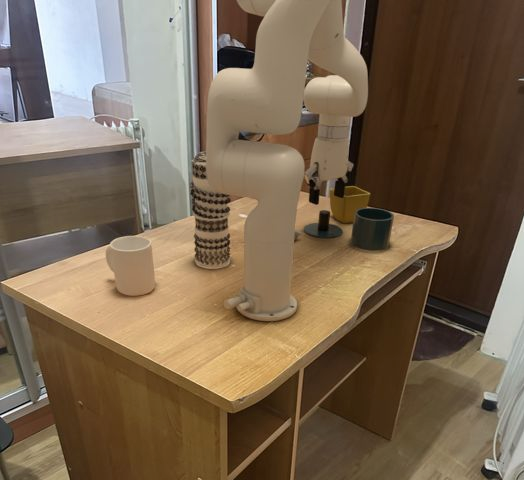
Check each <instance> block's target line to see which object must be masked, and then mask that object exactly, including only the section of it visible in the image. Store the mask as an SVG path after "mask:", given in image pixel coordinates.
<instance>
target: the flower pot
mask: <svg viewBox="0 0 524 480" xmlns="http://www.w3.org/2000/svg"><path fill="white" fill-rule="evenodd" d="M334 189H335V187H333V188H332V187H331V188H329V206H330V212H331V213H332V216H333V218H334V219H335V220H337V221H339V222H341V223H342V224H351V223H353V220H354V213H355V211H356V210H357V209H361V208H368V204H369V201H370V197H371V192H369V191H366V190H364V189H361V188H359V187H358V186H355V185H350V186H345V192H344V198H340V197H337V196H334Z"/></svg>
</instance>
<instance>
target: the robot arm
mask: <svg viewBox="0 0 524 480" xmlns="http://www.w3.org/2000/svg"><path fill="white" fill-rule="evenodd" d="M236 2H237V4H238V6H239V7H240V8H241V9H242V10H243V11H244V12H246V13H248V14H252V15H255V16H259V17H263V18H262V20H261V22H260V24H259V26H258V29H257V31H256V35H255V36H256V37H255V52H254V59H253V62H254V63H253V66H252V67H251V68H244V67H243V68H242V67H241V68H240V67H227V68H224V69H220V71H218V72H217V73H216V74H215V76H214V77H213V79H212V80H211V84H210V87H209V90H208V96H207V105H206V107H207V108H206V137H205V139H206V141H205V142H206V144H205V151H206V174H207V180H208V183H209V185H210V187H211V188H212V189H213V190H214V191H216V192H218V193H221V194H227V195H230V196H233V197H241V198H246V199H247V198H248V199H252V200H255V201H257V204H256V206H255V207H254V208H253V209H252V210H251V211H250V212H249V214H248V215H247V216H246V218H245V220H244V226H243V227H244V228H243V240H244V241H243V286H241V287H239V291H238V294H236V295H235V296H234V297H231V298H227V299H224V300H223V305H224V308H225V309H226V310H231V309H233V308H236V310H237V311H238V312H239V313H240V314H241V315H242V316H244V317H245V318H249V319H251V320H255V321H259V322H260V321H261V322H275V321H282V320H286V319H288V318H289V317H291V316H293V315H294V314H295V313H296V311H297V310H298V301H297V298H296V297H294V295H293V294H291V292H292V291H291V289H292V275H293V259H294V247H295V239H294V235H295V230H296V221H297V211H298V206H299V199H300V194H301V190H302V186H303V183H304V181H305V183H306V185H307V187H308V188H309V192H308V193H309V194H308V202H309V203H310V204H312V205H315V206H317V205H319V204H320V194H321V190H320V189H319V188H320V187H321V185H322V183H323V182H326V181H331V180H335V181H334V188H335V189H334V196H337V197H340V198H344V192H345V187H346V183H348V180H349V177H350V175H351V172H352V169H353V167H354V163H353V162H351V161H349V155H350V154H349V153H350V149H349V148H350V146H349V145H350V143H349V141H350V140H349V132H350V131H349V130H350V121H351V118H355V117H359V116H360V115H362V114H363V113H364V111H365V109H366V107H367V103H368V97H369V76H368V67H367V64H366V61H365V60H364V57H363V55H362V54H361V53H360V52H359V50H358V49H357V48H356V46H354V45H353V43H351V42H350V40H348V38H346V37H345V33H344V32H345V31H344V18H343V4H342V0H236ZM308 61H309V62H310V63H312V64H314V65H315V66H317V67H319V68H321V69H323V70H324V71H327V72H329V73H331V74H333V75H327V76H325V77H324V76H323V77H321V76H317V77H314V78H312V79H310V80H309V82H308V83H307V84H306V79H307V68H308ZM303 104H304V107H305V108H306V110H307V112H309V113H312V114H316V115H319V116H318V117H319V118H318V131H317V137H315V138H314V139H315V140H314V143H313V146H312V151H311V156H310V163H309V168H308V169H306V170H305V167H306V165H305V160H304V158H303V155H302V154H301V153H300V152H299V151H298V150H297V149H296V148H294V147H292V146H290V145H286V144H282V143H275V142H267V141H259V140H256V141H254V140H246V139H239V135H240V132H245V133H253V134H265V135H277V136H280V135H281V136H282V135H289V134H291V133H292V134H293V133H294V132H295V131H296V130H297V129H298V127H299V125H300V122H301V118H302V115H303V114H302V113H303Z"/></svg>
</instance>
